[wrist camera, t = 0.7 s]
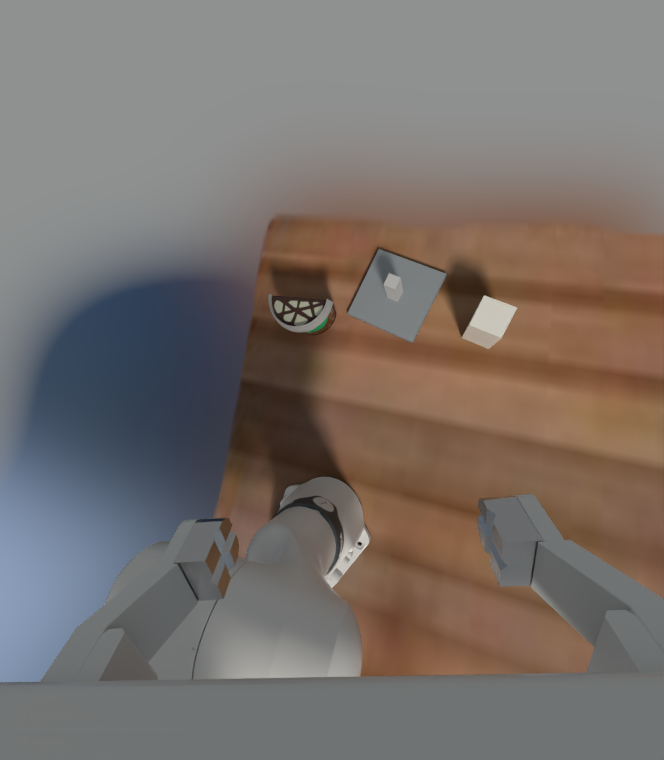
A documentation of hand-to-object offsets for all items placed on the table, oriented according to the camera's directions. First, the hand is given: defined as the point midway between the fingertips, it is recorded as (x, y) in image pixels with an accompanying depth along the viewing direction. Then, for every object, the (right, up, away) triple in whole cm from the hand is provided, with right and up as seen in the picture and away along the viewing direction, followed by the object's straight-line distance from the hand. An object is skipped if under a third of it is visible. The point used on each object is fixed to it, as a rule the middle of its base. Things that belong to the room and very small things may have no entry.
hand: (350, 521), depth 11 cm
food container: (-5, +16, +58) cm, 60 cm away
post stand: (+12, +21, +53) cm, 58 cm away
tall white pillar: (+26, +14, +49) cm, 57 cm away
